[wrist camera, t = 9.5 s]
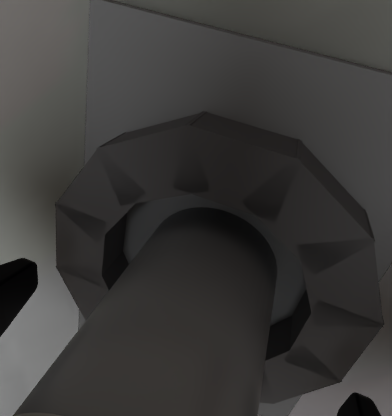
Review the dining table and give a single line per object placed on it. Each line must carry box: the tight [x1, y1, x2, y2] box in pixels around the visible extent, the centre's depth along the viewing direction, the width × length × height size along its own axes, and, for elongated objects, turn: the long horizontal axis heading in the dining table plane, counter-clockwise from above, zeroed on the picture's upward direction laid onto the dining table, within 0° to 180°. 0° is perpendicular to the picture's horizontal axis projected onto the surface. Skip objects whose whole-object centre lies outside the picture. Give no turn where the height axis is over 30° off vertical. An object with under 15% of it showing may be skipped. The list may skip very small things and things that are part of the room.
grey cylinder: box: [13, 207, 277, 416], centre depth 8 cm, size 5×5×8 cm
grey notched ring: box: [55, 0, 392, 416], centre depth 11 cm, size 14×10×2 cm
